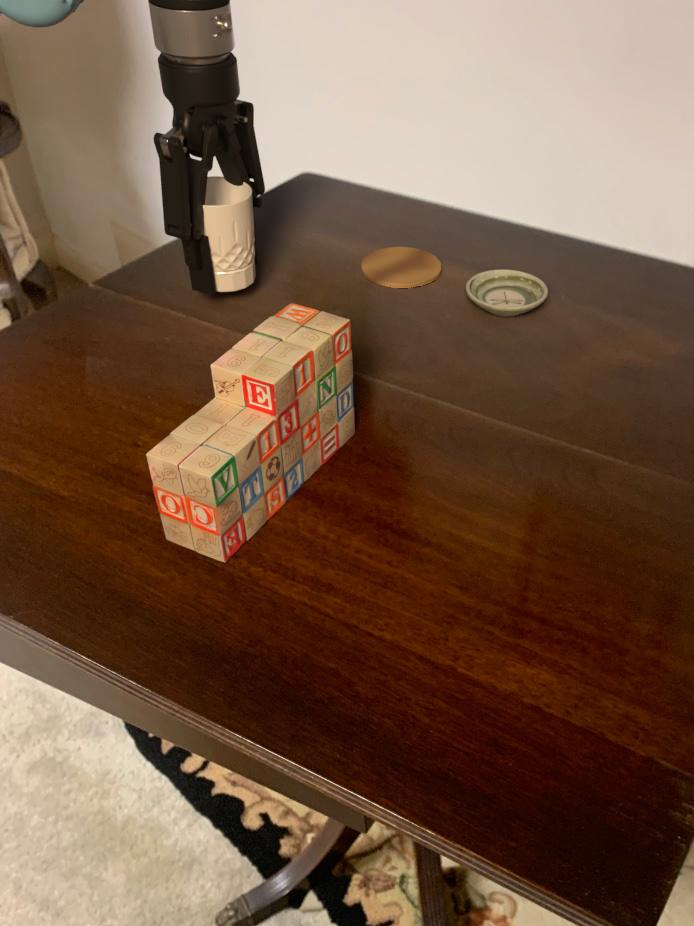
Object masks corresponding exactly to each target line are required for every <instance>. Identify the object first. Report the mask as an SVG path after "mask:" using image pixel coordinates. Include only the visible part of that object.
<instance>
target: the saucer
mask: <svg viewBox="0 0 694 926" xmlns="http://www.w3.org/2000/svg"><path fill="white" fill-rule="evenodd" d="M465 292H466V295H467V297H468V298H469V299H470V300H471V301H472V302H473V303H474V304H475V305H476V306H478V307H479V308H480V309H482V310H483V311H486V312H489V313H490V314H491V315H494V316H497V317H498V316H499V317H508V318H509V317H516V315H517V316H520V315H522V314H525V313H528V312H530V311H532V310H534V309H536V308H537V307H538V306H540V305H542V304H543V303H544V302H545V301H546V300H547V298H548V295H549V289H548V286H547V285H546V283H545V282H544V280H542V279H540V278H539V277H537V276H535V275H533V274H531V273H529V272H525V271H520V270H516V269H505V268H504V269H501V268H500V269H490V270H485V271H482V272H479V273H476V274H475V275H473V276H472V277H470V278H469V279H468V281H467V282H466V284H465ZM521 313H522V314H521ZM519 314H520V315H519Z"/></svg>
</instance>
